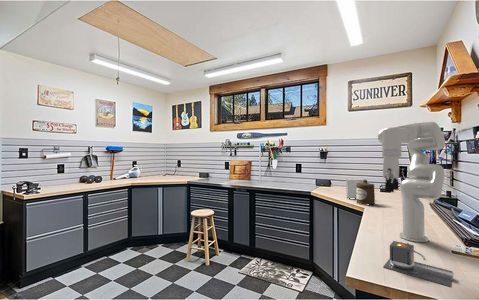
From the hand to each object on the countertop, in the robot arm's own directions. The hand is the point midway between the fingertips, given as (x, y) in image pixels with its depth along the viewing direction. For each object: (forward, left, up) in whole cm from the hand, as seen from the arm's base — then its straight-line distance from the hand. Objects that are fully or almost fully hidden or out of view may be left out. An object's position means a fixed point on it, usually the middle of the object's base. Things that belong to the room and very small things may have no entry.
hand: (392, 190), depth 112 cm
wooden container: (-108, -43, -29) cm, 120 cm away
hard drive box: (-127, -58, -29) cm, 143 cm away
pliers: (-6, +4, -29) cm, 30 cm away
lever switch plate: (+14, +11, -28) cm, 34 cm away
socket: (+14, +6, -26) cm, 30 cm away
